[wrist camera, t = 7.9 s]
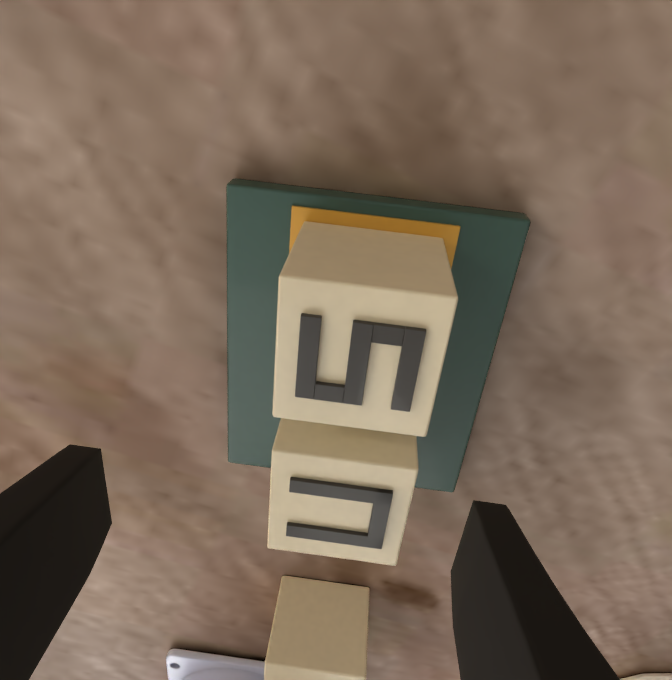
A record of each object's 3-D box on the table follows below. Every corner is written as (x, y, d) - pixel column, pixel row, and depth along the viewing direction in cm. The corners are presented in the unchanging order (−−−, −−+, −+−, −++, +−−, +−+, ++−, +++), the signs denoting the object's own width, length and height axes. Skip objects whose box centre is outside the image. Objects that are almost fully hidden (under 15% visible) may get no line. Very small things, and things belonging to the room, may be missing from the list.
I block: (359, 638, 28) (354, 733, 24) (278, 626, 28) (260, 719, 24) (369, 586, 26) (366, 682, 22) (282, 574, 26) (263, 667, 22)
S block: (419, 356, 18) (426, 442, 14) (295, 341, 18) (270, 421, 14) (443, 237, 16) (459, 300, 12) (303, 220, 16) (277, 277, 12)
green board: (452, 478, 22) (454, 495, 21) (232, 449, 22) (226, 464, 21) (526, 212, 16) (532, 221, 16) (232, 177, 17) (224, 184, 16)
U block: (395, 474, 21) (396, 571, 17) (288, 459, 21) (265, 552, 17) (413, 385, 19) (419, 473, 15) (294, 369, 19) (270, 453, 15)
